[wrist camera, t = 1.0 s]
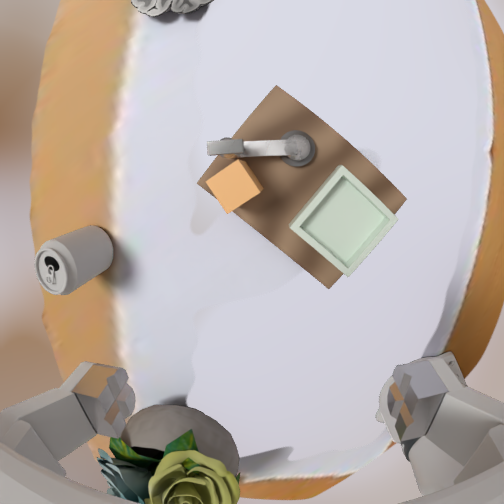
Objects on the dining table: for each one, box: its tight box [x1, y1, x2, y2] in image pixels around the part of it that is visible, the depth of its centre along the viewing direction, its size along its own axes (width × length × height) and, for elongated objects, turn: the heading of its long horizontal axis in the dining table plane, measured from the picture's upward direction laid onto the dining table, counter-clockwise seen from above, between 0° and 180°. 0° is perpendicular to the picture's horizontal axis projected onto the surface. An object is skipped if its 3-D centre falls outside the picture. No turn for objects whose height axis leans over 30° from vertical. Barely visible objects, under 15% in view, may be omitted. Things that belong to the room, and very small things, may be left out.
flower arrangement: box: [97, 405, 240, 504], centre depth 38 cm, size 25×25×24 cm
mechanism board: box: [197, 85, 406, 289], centre depth 35 cm, size 22×16×2 cm
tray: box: [289, 165, 398, 277], centre depth 35 cm, size 10×10×2 cm
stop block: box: [206, 159, 264, 214], centre depth 32 cm, size 4×4×7 cm
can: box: [34, 225, 113, 295], centre depth 36 cm, size 8×8×12 cm
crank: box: [207, 135, 310, 161], centre depth 31 cm, size 11×3×6 cm, turn 93°
